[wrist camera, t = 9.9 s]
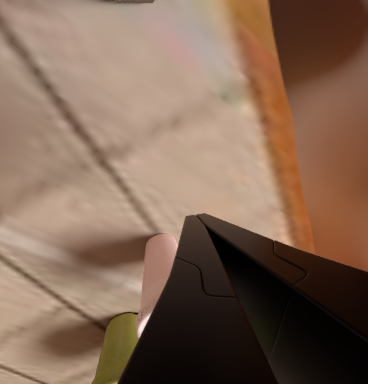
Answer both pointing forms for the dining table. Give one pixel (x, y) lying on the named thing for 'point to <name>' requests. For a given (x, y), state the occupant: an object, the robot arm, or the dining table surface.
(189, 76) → the dining table surface
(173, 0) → the dining table surface
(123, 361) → the plant pot
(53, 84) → the dining table surface
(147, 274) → the smoothie
